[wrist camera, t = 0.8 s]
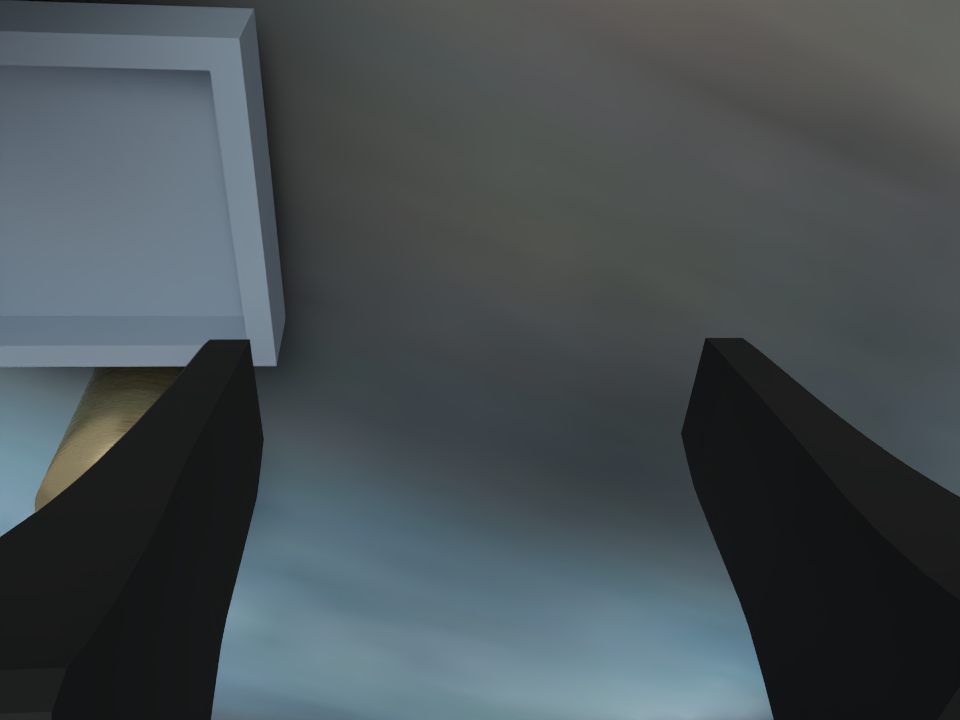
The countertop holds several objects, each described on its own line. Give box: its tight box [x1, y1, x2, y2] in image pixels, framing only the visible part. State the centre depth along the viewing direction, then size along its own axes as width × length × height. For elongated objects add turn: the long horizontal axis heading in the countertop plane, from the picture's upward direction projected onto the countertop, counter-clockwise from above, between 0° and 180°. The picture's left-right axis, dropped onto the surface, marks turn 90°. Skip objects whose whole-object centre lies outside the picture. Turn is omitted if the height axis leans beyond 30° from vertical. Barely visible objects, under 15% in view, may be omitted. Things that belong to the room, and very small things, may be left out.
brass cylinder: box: [35, 366, 186, 512], centre depth 22 cm, size 4×4×6 cm
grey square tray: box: [0, 0, 286, 367], centre depth 19 cm, size 8×8×4 cm
